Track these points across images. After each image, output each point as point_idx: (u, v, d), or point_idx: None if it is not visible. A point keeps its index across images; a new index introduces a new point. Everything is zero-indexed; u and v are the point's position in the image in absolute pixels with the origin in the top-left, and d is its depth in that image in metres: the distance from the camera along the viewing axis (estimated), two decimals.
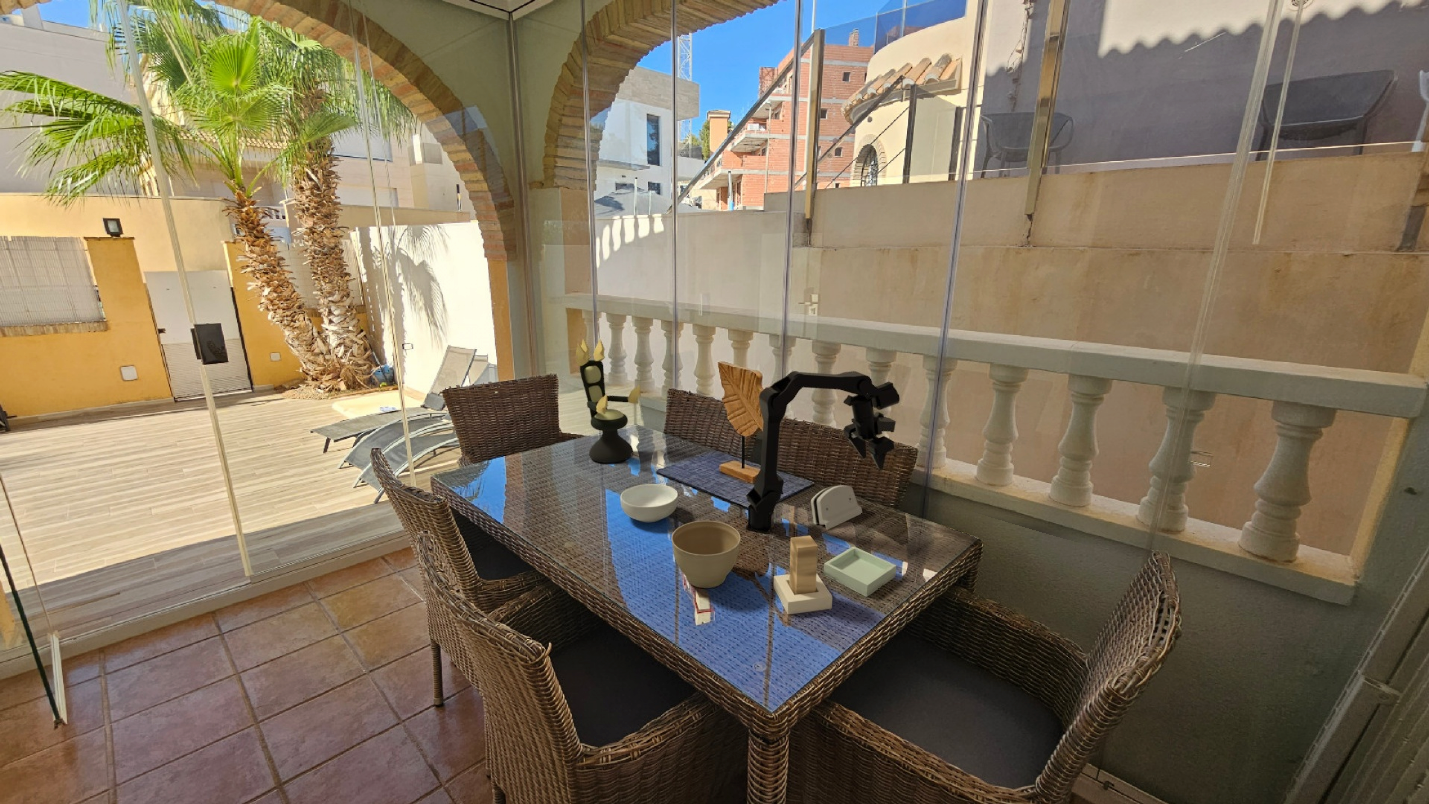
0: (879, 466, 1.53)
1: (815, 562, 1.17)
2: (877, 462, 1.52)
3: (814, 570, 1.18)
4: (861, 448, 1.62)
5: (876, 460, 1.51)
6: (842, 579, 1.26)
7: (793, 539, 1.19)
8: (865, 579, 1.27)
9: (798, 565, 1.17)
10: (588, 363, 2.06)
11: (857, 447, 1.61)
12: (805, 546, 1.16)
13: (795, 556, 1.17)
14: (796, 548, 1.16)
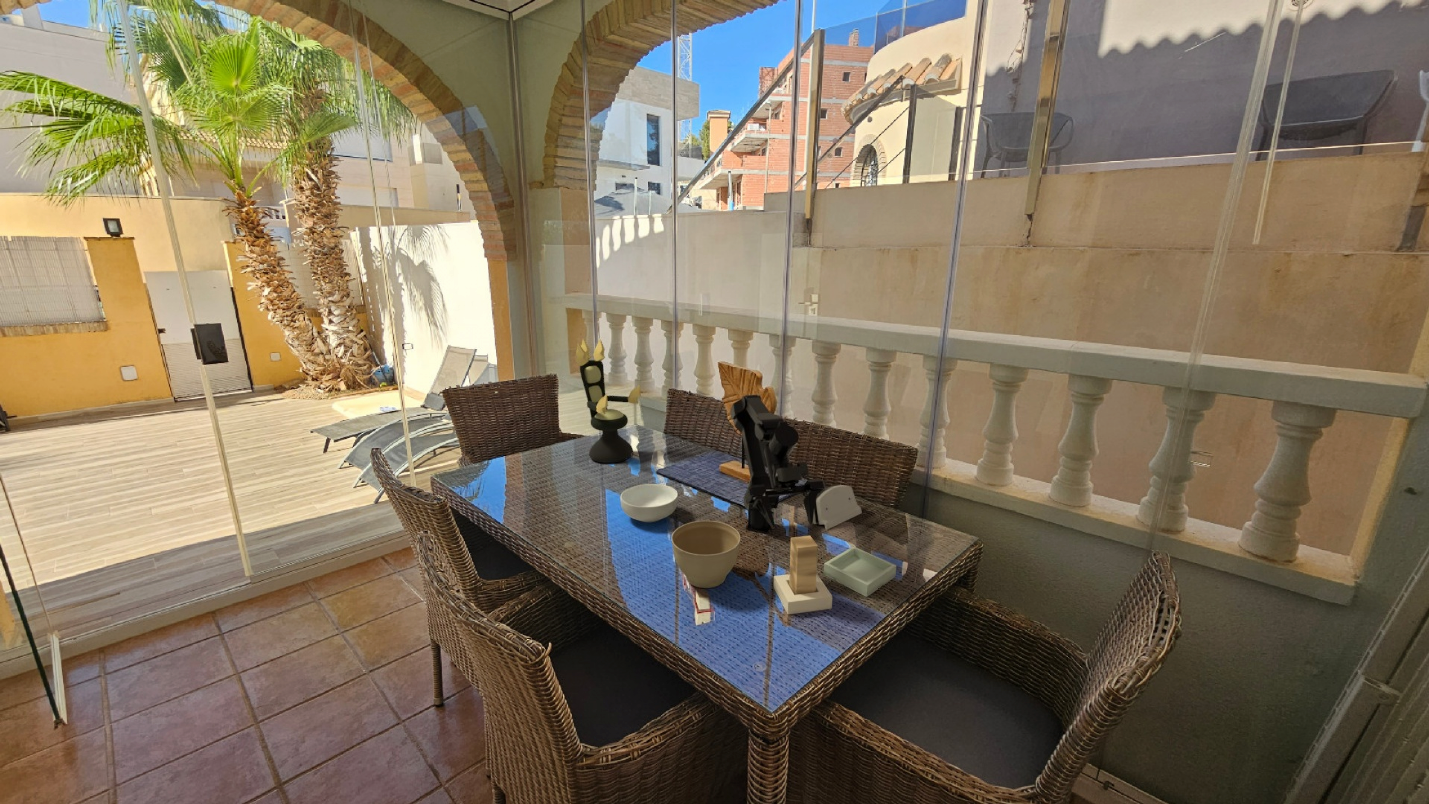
0: (769, 523, 1.26)
1: (815, 562, 1.17)
2: (765, 517, 1.27)
3: (814, 570, 1.18)
4: (807, 510, 1.29)
5: (763, 514, 1.28)
6: (842, 579, 1.26)
7: (793, 539, 1.19)
8: (865, 579, 1.27)
9: (798, 565, 1.17)
10: (588, 363, 2.06)
11: (806, 509, 1.30)
12: (805, 547, 1.16)
13: (795, 556, 1.17)
14: (796, 548, 1.16)
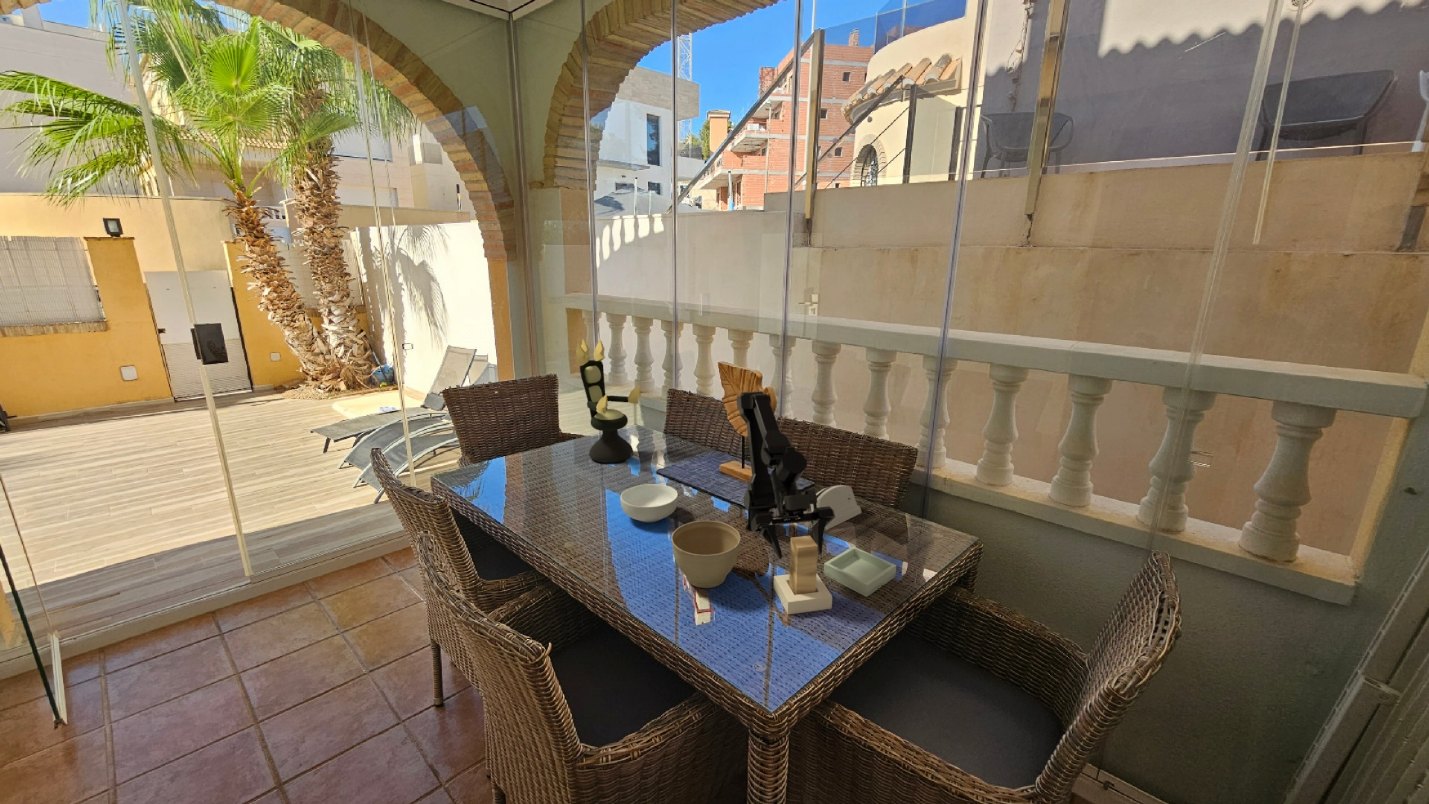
0: (776, 553, 1.21)
1: (815, 562, 1.17)
2: (772, 547, 1.22)
3: (814, 570, 1.18)
4: (816, 540, 1.24)
5: (770, 543, 1.23)
6: (842, 579, 1.26)
7: (793, 539, 1.19)
8: (865, 579, 1.27)
9: (798, 565, 1.17)
10: (588, 363, 2.06)
11: (814, 538, 1.25)
12: (805, 546, 1.16)
13: (795, 556, 1.17)
14: (796, 548, 1.16)
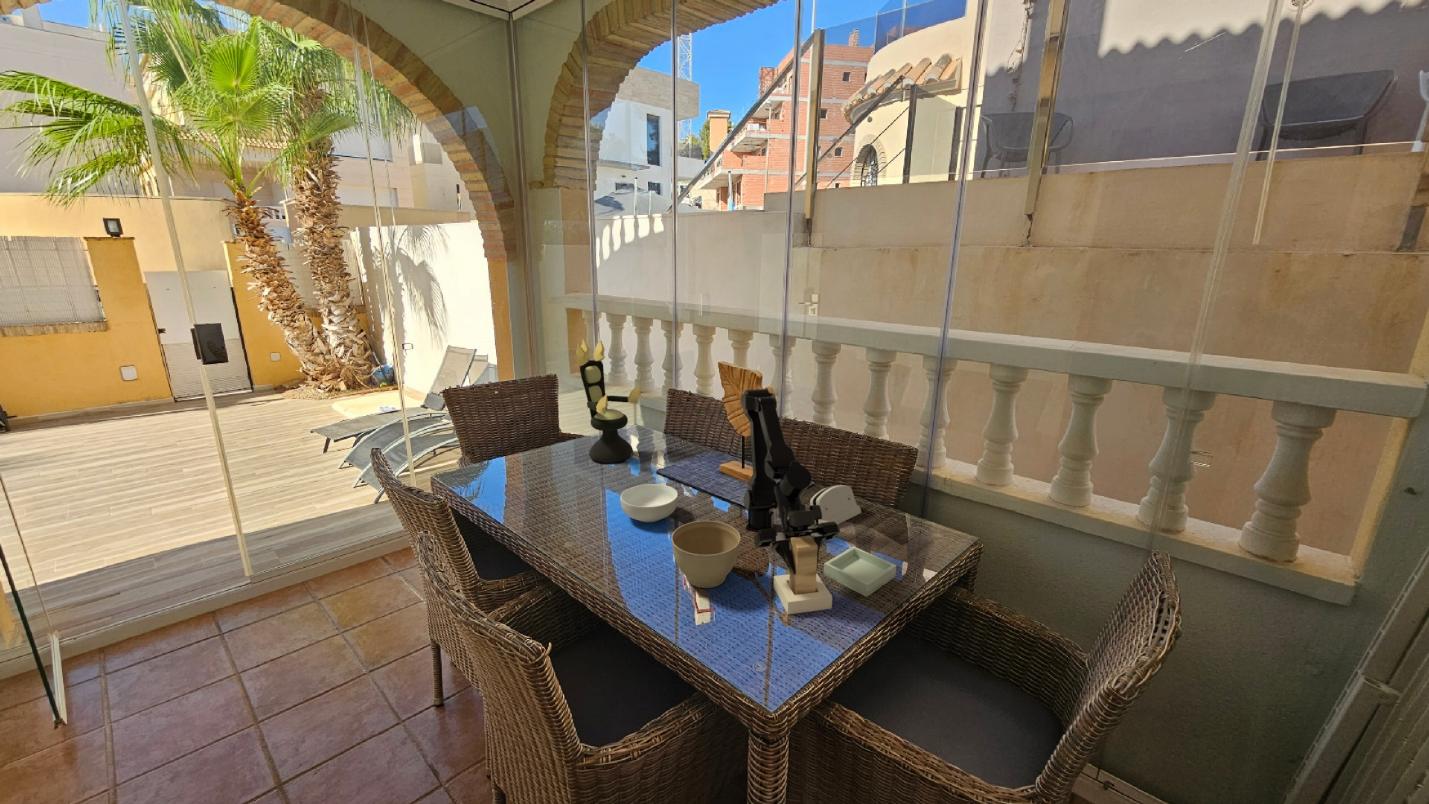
0: (790, 569, 1.19)
1: (815, 562, 1.17)
2: (785, 562, 1.21)
3: (814, 570, 1.18)
4: None
5: (783, 558, 1.21)
6: (842, 579, 1.26)
7: (793, 539, 1.19)
8: (865, 579, 1.27)
9: (798, 565, 1.17)
10: (588, 363, 2.06)
11: None
12: (805, 546, 1.16)
13: (795, 556, 1.17)
14: (796, 548, 1.16)
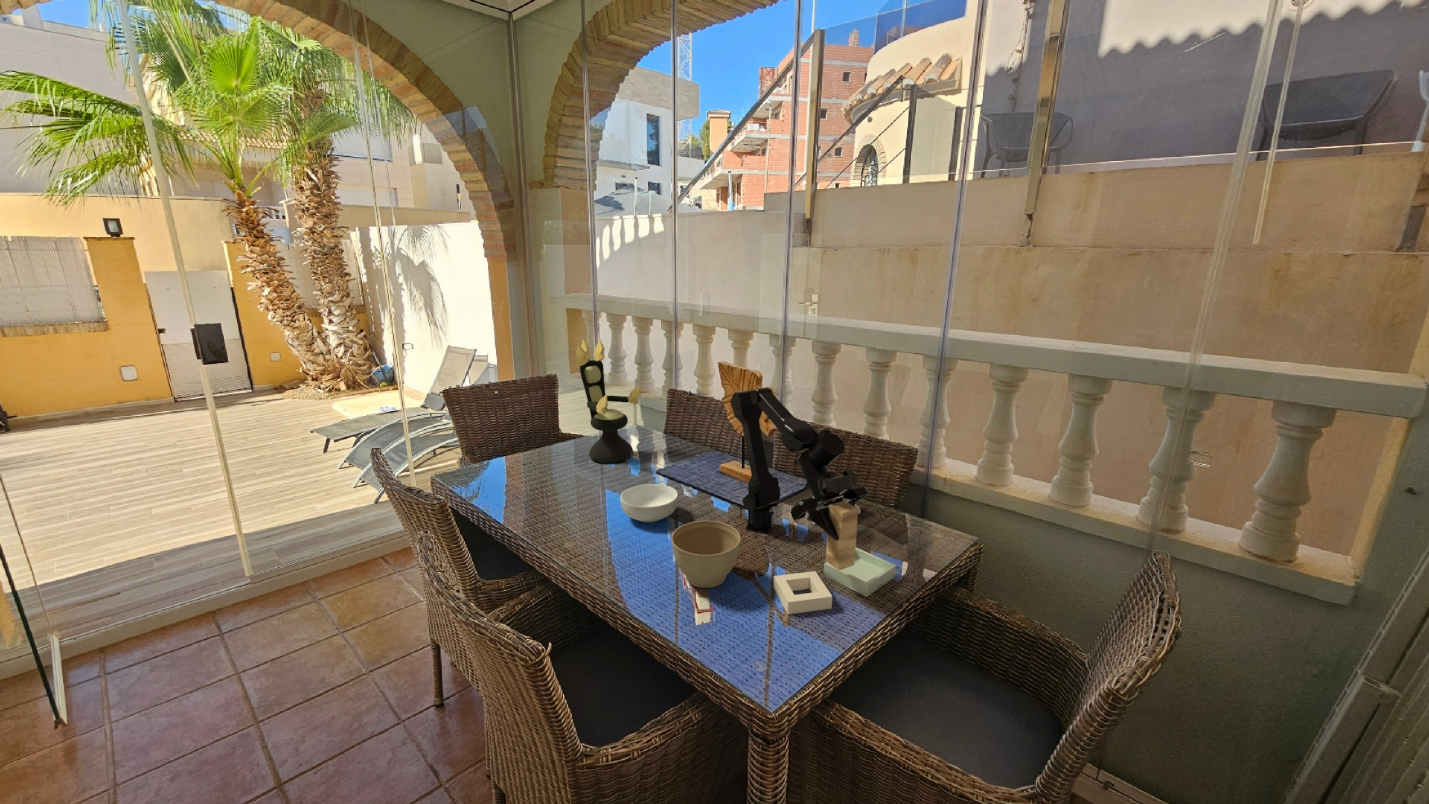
0: (831, 535, 1.21)
1: (855, 525, 1.20)
2: (824, 530, 1.22)
3: (855, 533, 1.21)
4: None
5: (821, 527, 1.22)
6: (842, 579, 1.26)
7: (832, 506, 1.21)
8: (865, 579, 1.27)
9: (842, 529, 1.18)
10: (588, 363, 2.06)
11: None
12: (848, 511, 1.18)
13: (838, 521, 1.19)
14: (839, 513, 1.18)
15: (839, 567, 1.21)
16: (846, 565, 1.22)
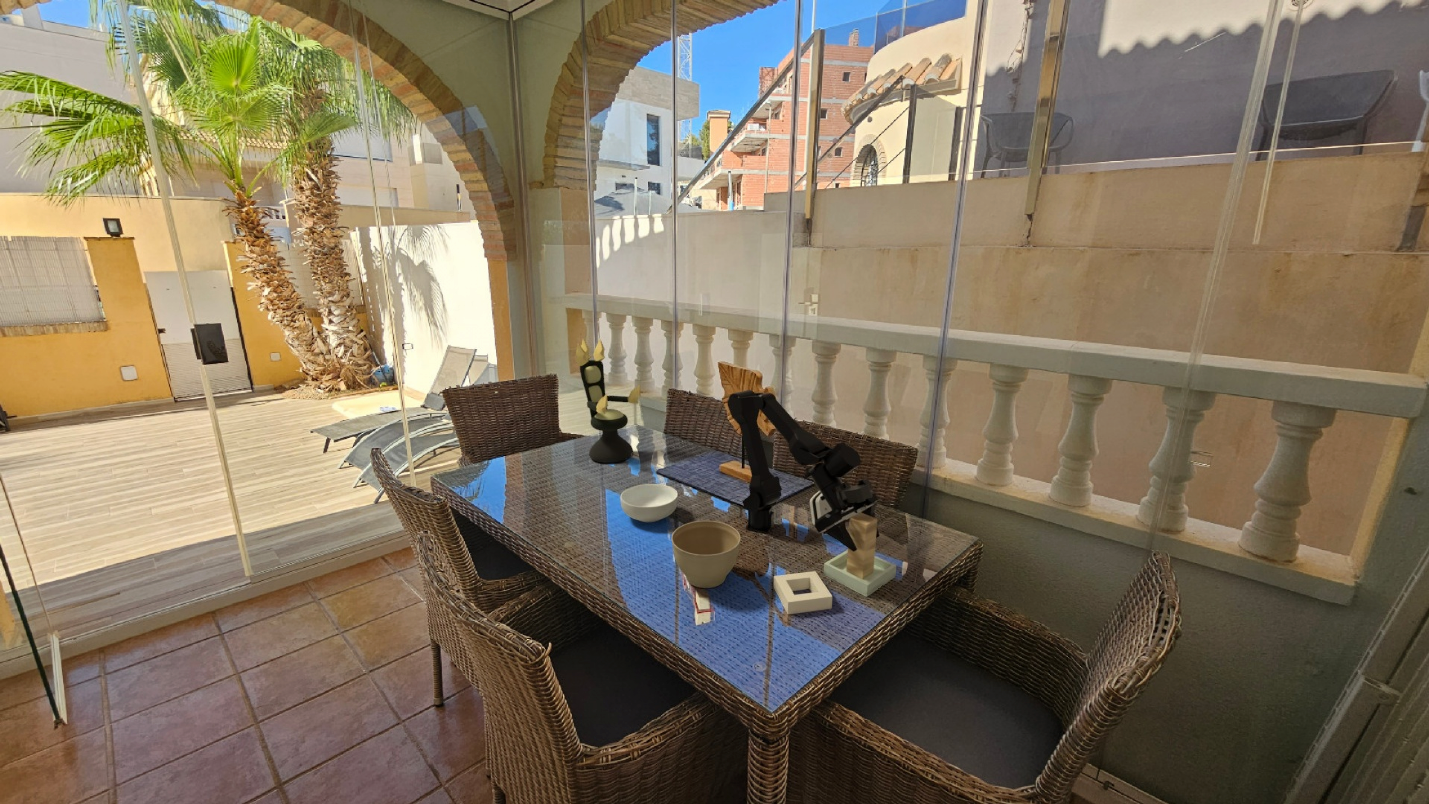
0: (848, 547, 1.24)
1: (875, 535, 1.27)
2: (841, 542, 1.25)
3: (874, 542, 1.27)
4: None
5: (838, 539, 1.25)
6: (842, 579, 1.26)
7: (853, 519, 1.26)
8: (865, 579, 1.27)
9: (866, 541, 1.24)
10: (588, 363, 2.06)
11: None
12: (870, 522, 1.24)
13: (861, 533, 1.25)
14: (863, 526, 1.24)
15: (862, 576, 1.27)
16: (867, 573, 1.28)
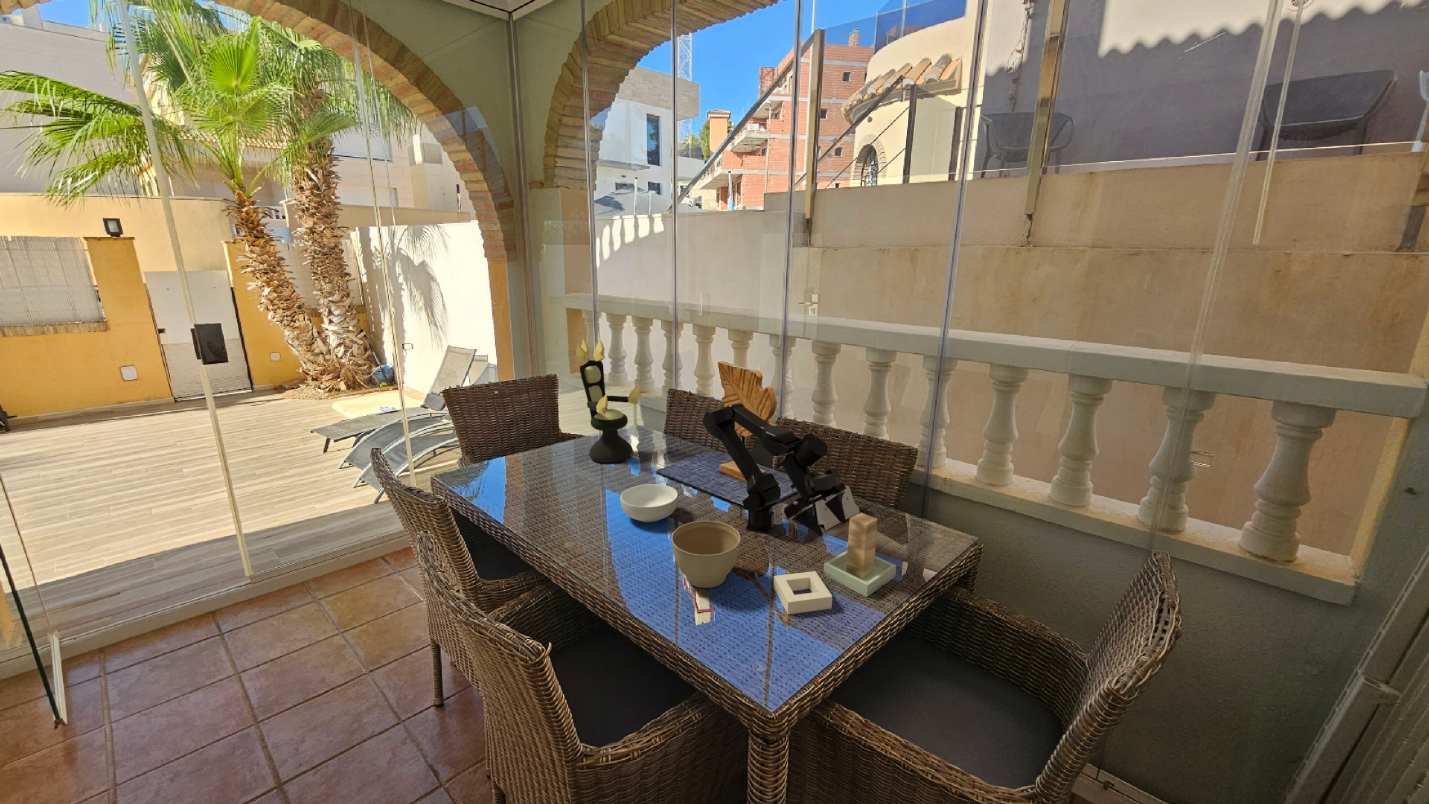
0: (816, 532, 1.31)
1: (875, 535, 1.27)
2: (809, 527, 1.32)
3: (874, 542, 1.27)
4: (837, 512, 1.38)
5: (806, 525, 1.32)
6: (842, 579, 1.26)
7: (853, 519, 1.26)
8: (865, 579, 1.27)
9: (866, 541, 1.24)
10: (588, 363, 2.06)
11: (832, 511, 1.39)
12: (870, 522, 1.24)
13: (861, 533, 1.25)
14: (863, 526, 1.24)
15: (862, 576, 1.27)
16: (867, 573, 1.28)
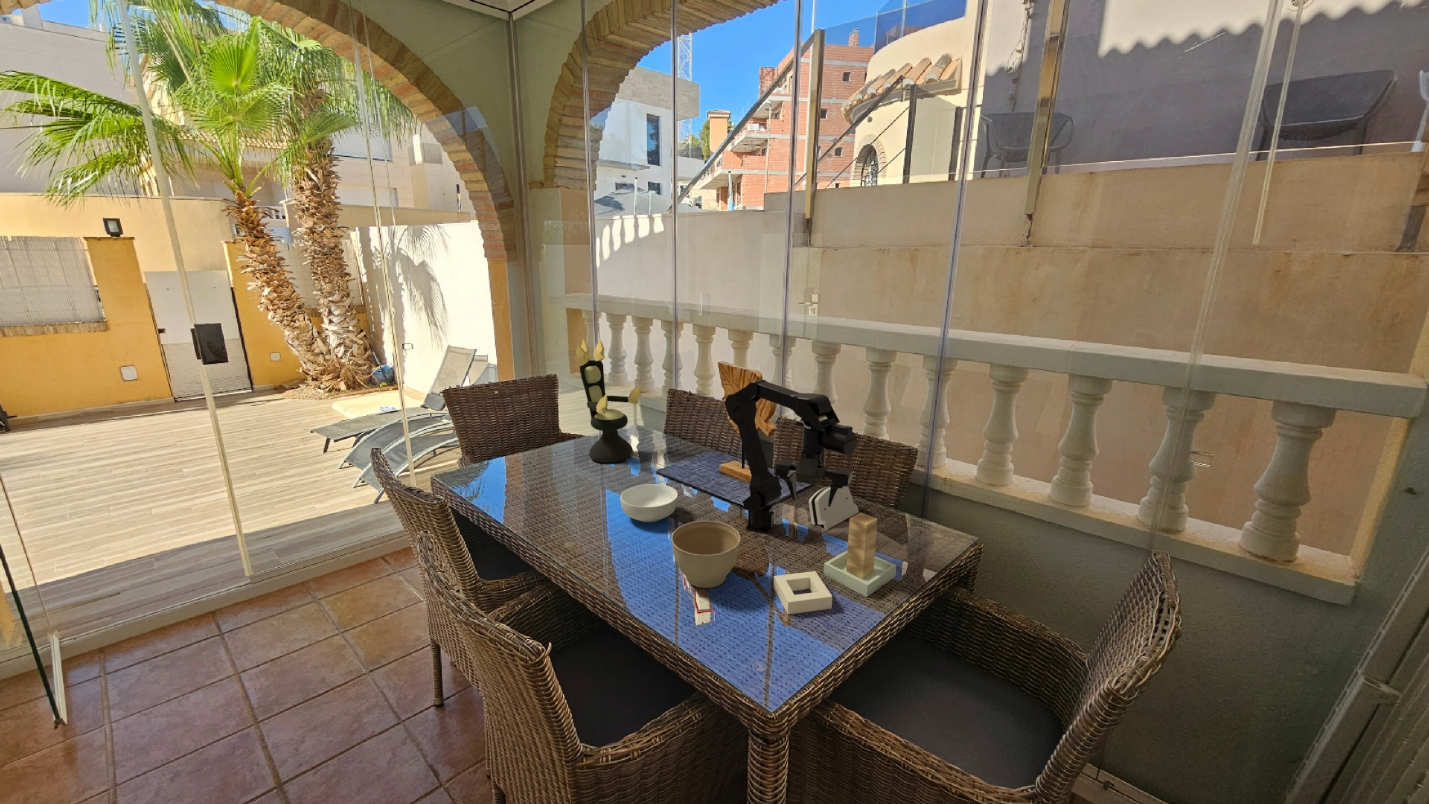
0: None
1: (875, 535, 1.27)
2: None
3: (874, 542, 1.27)
4: None
5: None
6: (842, 579, 1.26)
7: (853, 519, 1.26)
8: (865, 579, 1.27)
9: (866, 541, 1.24)
10: (588, 363, 2.06)
11: None
12: (870, 522, 1.24)
13: (861, 533, 1.25)
14: (863, 526, 1.24)
15: (862, 576, 1.27)
16: (867, 573, 1.28)
